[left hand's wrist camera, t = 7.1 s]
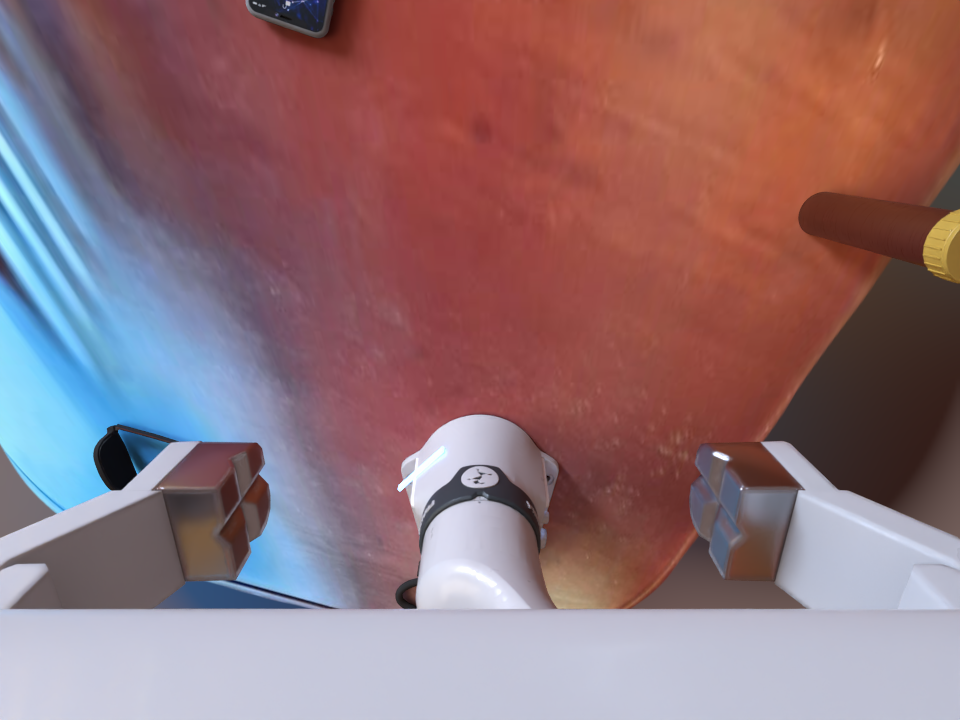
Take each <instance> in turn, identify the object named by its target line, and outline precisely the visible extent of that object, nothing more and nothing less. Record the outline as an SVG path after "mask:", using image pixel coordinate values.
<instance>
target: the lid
mask: <svg viewBox="0 0 960 720" xmlns="http://www.w3.org/2000/svg"><path fill="white" fill-rule="evenodd" d="M923 259H924V264H925V265H926V266H927V268H928V271H931V272H932V273H933V274H934V276H937V277H941V278H942V279H945V280H948V281H952V282H955V283H958V284H959V283H960V210H957V211H954V212H951V213H950V214H948V215H947V216H945V217H944V218H942V219H941V220H940V221H939V222H938V223H937V224H936V225H935V226H934V227H933V228H932V230H931V231H930V233H929V234H928V236H927V238H926V241H925V244H924V248H923Z"/></svg>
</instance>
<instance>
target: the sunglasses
mask: <svg viewBox="0 0 960 720" xmlns="http://www.w3.org/2000/svg"><path fill="white" fill-rule="evenodd" d="M119 429H120V430H124V431H128V432H131V433H135V434H139V435H142V436H146V437H150V438H153V439H157V440H160V441H164V442H167V443H173V442H179V441H176V440H173V439H169V438H166V437H163V436H160V435H156V434H153V433H149V432H146V431H142V430H138V429H135V428H131V427H127V426H123V425H119V424H118V425H114V426H110V427H108V428H107V434H106V435H105V436H104V437H103V438H101V439H100V440H99V442H98V443H97V445H96V446H95V449H94V454H93V457H94V462H95V465H96V468H97V470H98V473H99V475H100V477H101V479H102V480H103V482H104V483H105V485H106V486H107V487H108V488H109V489H110V490H112V491H116V490H122V489H123V488H124V487H125V486H127V485H128V484H129V483H130V482H131V481H132V480H133V479H134V478H135V477H136V476H137V473H136V471H135V468H134V466H133V463H132V461H131V458H130V456H129V453H128V451H127V449H126V447H125V444H124V442H123V441H122V439H121V437H120V435H119V433H118V430H119Z"/></svg>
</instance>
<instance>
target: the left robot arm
mask: <svg viewBox="0 0 960 720" xmlns="http://www.w3.org/2000/svg"><path fill="white" fill-rule="evenodd" d="M264 465H265V461H264V456H263V451H262V448H261V447H260V446H259V445H258V443H242V442H201V441H191V442H173V443H170V444H169V445H168V446H167V447H166V448H165V449H164V450H163V451H162V452H161V453H160V454H159V455H158V456H157V457H156V458H155V459H154V460H153V461H151V462H150V463H149V464H148V465H147V466H146V467H145V468H144V469H143V470H142V471H141V472H140V473H139V474H138V475H137V476H136V477H135V478H134V479H133V480H132V481H131V482H130V483H129V484H128V485H127V486H125V487H124V488H123V489H122V490H116V491H110V492H108V493H105V494H103V495H101V496H98V497H96V498H93V499H91V500H89V501H86V502H84V503H82V504H79V505H77V506H75V507H72V508H70V509H68V510H65V511H63V512H61V513H58V514H56V515H53V516H51V517H49V518H46V519H44V520H42V521H39V522H37V523H35V524H32V525H30V526H28V527H25V528H23V529H21V530H18V531H16V532H13V533H11V534H9V535H6V536H4V537H2V538H0V720H960V538H958V537H956V536H953V535H951V534H949V533H946V532H944V531H942V530H939V529H937V528H934V527H932V526H930V525H927V524H925V523H923V522H920V521H918V520H916V519H913V518H911V517H909V516H906V515H904V514H902V513H899V512H897V511H895V510H892V509H890V508H888V507H885V506H883V505H881V504H878V503H876V502H874V501H871V500H869V499H866V498H864V497H862V496H859V495H857V494H855V493H852V492H850V491H844V490H843V491H842V490H838V489H837V488H836V487H835V486H833V485H832V484H831V483H830V482H829V481H828V480H827V479H826V478H825V477H824V476H823V475H822V474H821V473H820V472H819V471H818V470H817V469H816V468H815V467H814V466H813V465H812V464H811V463H810V462H809V461H808V460H807V459H806V458H804V457H803V456H802V455H801V454H800V453H799V452H798V451H797V450H796V449H795V448H794V447H793V446H792V445H791V444H790V443H787V442H784V441H773V442H735V443H705V444H701V445H700V447H699V449H698V451H697V455H696V460H695V465H696V466H697V468H698V469H699V471H700V472H701V475H700V476H699V477H698V478H697V479H696V480H695V481H694V482H693V483H692V484H691V491H690V499H689V502H690V513H691V517H692V521H693V524H694V526H695V528H696V530H697V532H698V534H699V535H700V536H701V537H703V538H704V539H706V540H708V541H709V542H711V543H710V548H709V554H710V556H711V557H712V559H713V561H714V563H715V564H716V566H717V568H718V570H719V571H720V573H721V575H722V577H723V578H724V580H744V581H775V584H776V585H777V586H778V587H780V588H781V589H782V590H784V591H785V592H786V593H788V594H789V595H790V596H792V597H793V598H794V599H795V600H797V601H798V602H799V603H801V604H802V605H803V606H805V607H806V608H807V609H557V608H556V606H555V605H554V603H553V602H552V600H551V598H550V596H549V594H548V591H547V588H546V585H545V581H544V577H543V574H542V569H541V564H540V559H539V553H540V548H541V549H543V548H545V545H546V539H547V531H546V529H544V528H542V527H543V524H548V521H549V512H547V510H548V507H549V503H550V500H551V497H552V493H553V490H554V486H555V483H556V480H557V476H558V472H559V467H558V463H557V461H556V460H555V459H553V458H552V457H551V456H549V455H547V454H546V453H544V452H542V451H540V450H539V449H538V448H537V446H536V445H535V444H534V442H533V441H532V440H531V438H530V437H529V436H528V435H527V434H526V432H524V431H523V430H522V429H521V428H520V427H518V426H517V425H515V424H514V423H512V422H510V421H508V420H505V419H503V418H499V417H496V416H490V415H470V416H464V417H461V418H457V419H455V420H452V421H450V422H448V423H446V424H445V425H443V426H442V427H440V428H439V429H438V430H437V431H436V432H435V433H434V434H433V435H432V436H431V437H430V438H429V440H428V441H427V442H426V444H425V445H424V446H423V448H422V449H421V450H420V451H418V452H416V453H415V454H413V455H411V456H410V457H408V458H407V459H405V460H404V461H403V463H402V467H401V472H402V476H403V479H404V481H403V482H402V483H401V484H399V487H398V490H399V491H401V490H402V489H403V488H404V487H405V486H406V490H407V493H408V496H409V500H410V503H411V507H412V510H413V513H414V517H415V520H416V524H417V527H418V530H419V536H420V538H419V547H420V553H421V560H420V562H419V566H418V573H417V576H418V578H417V579H413V580H409V581H407V582H405V583H403V584H402V585H401V586H400V587H399V588H398V590H397V592H396V601H397V603H398V604H399V605H400V606H401V607H402V608H404V609H153V608H154V607H156V606H157V605H158V604H160V603H161V602H162V601H163V600H165V599H166V598H167V597H169V596H170V595H171V594H173V593H174V592H175V591H177V590H178V589H179V588H180V587H182V586H183V585H184V584H185V581H215V580H236V579H237V577H238V575H239V573H240V572H241V570H242V568H243V566H244V564H245V563H246V561H247V559H248V557H249V556H250V554H251V548H250V543H249V542H251V541H252V540H254V539H256V538H257V537H259V536H260V535H261V534H262V532H263V530H264V528H265V526H266V524H267V521H268V516H269V512H270V490H269V484H268V483H267V482H266V481H265V480H264V479H263V478H262V477H261V476H260V475H259V472H260V471H261V469H262V468H263V466H264ZM546 475H548V476H549V477H548V478H546ZM415 586H417V590H416V606H417V607H416V606H414V605H412V604H410V603H408V602H407V601H405V600H404V599H403V593H404V592H405V591H406V590H408V589H409V588H412V587H415Z"/></svg>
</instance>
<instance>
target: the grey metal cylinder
mask: <svg viewBox="0 0 960 720" xmlns="http://www.w3.org/2000/svg"><path fill="white" fill-rule="evenodd" d="M951 212H954V211H953V210H946V209H939V208H932V207H925V206H919V205H912V204H905V203H898V202H891V201H884V200H878V199H871V198H864V197H857V196H850V195H844V194H837V193H830V192H820V193H817V194H815V195H813V196H811V197H810V198H808V199H807V200H806V201H805V202H804V204H803V205H802V207H801V209H800V212H799V224H800V226H801V228H802V230H803V231H805V232H806V233H808V234H811V235H814V236H818V237H821V238H825V239H828V240H832V241H835V242H839V243H843V244H846V245H850V246H853V247H857V248H860V249H864V250H867V251H871V252H874V253H878V254H882V255H885V256H889V257H892V258H896V259H900V260H903V261H906V262H910V263H914V264H917V265H920V266H924V267H927V266H926V265H925V264H924V259H923V248H924V244H925V241H926V238H927V236H928V234H929V233H930V231H931V230H932V228H933V227H934V226H935V225H936V224H937V223H938V222H939V221H940V220H941V219H942V218H944V217H945V216H947V215H948V214H950V213H951Z"/></svg>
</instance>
